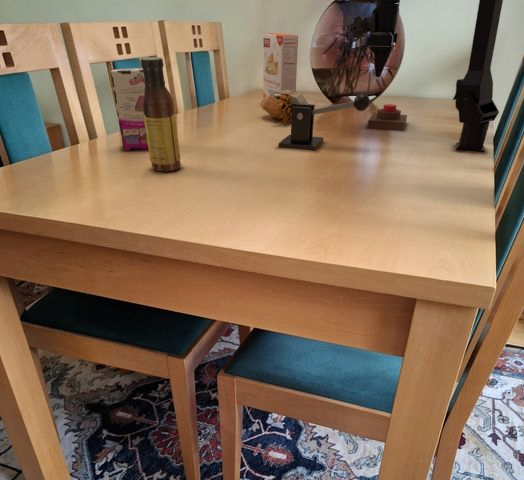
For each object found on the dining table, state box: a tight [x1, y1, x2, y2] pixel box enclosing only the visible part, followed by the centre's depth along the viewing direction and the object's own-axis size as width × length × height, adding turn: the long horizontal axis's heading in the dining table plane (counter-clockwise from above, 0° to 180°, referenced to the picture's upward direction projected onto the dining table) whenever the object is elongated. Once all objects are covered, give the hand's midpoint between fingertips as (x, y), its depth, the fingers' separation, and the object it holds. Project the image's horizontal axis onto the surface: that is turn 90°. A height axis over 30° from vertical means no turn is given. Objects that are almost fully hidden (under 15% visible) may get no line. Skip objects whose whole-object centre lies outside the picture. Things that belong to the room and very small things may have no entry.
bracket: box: [278, 103, 324, 152], centre depth 112 cm, size 9×10×9 cm
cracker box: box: [262, 32, 299, 100], centre depth 153 cm, size 14×6×21 cm, turn 25°
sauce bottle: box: [140, 56, 181, 173], centre depth 91 cm, size 7×6×20 cm
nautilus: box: [260, 89, 309, 126], centre depth 137 cm, size 8×22×15 cm
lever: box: [311, 93, 371, 116], centre depth 108 cm, size 17×4×4 cm, turn 72°
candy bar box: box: [109, 67, 149, 152], centre depth 107 cm, size 11×5×16 cm, turn 105°
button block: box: [366, 108, 408, 132], centre depth 134 cm, size 12×10×4 cm
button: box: [382, 103, 397, 112], centre depth 132 cm, size 4×4×2 cm
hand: (377, 77), depth 122 cm, fingers closed
